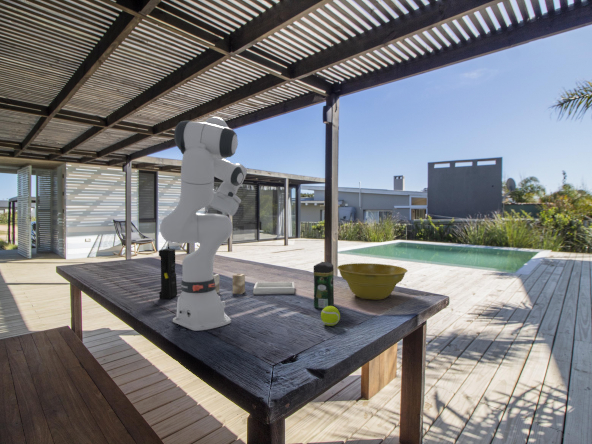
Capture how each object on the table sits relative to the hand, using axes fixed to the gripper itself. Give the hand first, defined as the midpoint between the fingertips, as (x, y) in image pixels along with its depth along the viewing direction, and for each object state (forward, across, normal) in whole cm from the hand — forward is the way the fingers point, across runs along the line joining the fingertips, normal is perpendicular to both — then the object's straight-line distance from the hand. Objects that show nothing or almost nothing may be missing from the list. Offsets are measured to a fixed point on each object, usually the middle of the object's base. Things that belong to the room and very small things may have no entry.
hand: (211, 217), depth 154 cm
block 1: (+32, +11, +16) cm, 38 cm away
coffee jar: (+14, +66, +13) cm, 69 cm away
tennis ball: (+20, +77, -6) cm, 80 cm away
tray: (+18, +34, +30) cm, 48 cm away
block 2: (+26, +21, +20) cm, 40 cm away
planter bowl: (0, +78, +36) cm, 86 cm away
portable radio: (+43, 0, +3) cm, 43 cm away
